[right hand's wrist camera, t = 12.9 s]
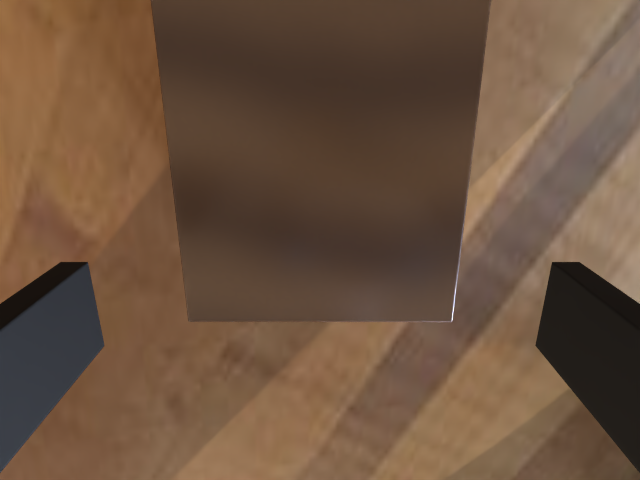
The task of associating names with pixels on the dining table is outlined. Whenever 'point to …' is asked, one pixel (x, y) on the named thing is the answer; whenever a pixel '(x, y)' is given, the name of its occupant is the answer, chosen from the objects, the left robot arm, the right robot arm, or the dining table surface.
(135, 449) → the dining table surface
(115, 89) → the dining table surface
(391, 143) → the cabinet
